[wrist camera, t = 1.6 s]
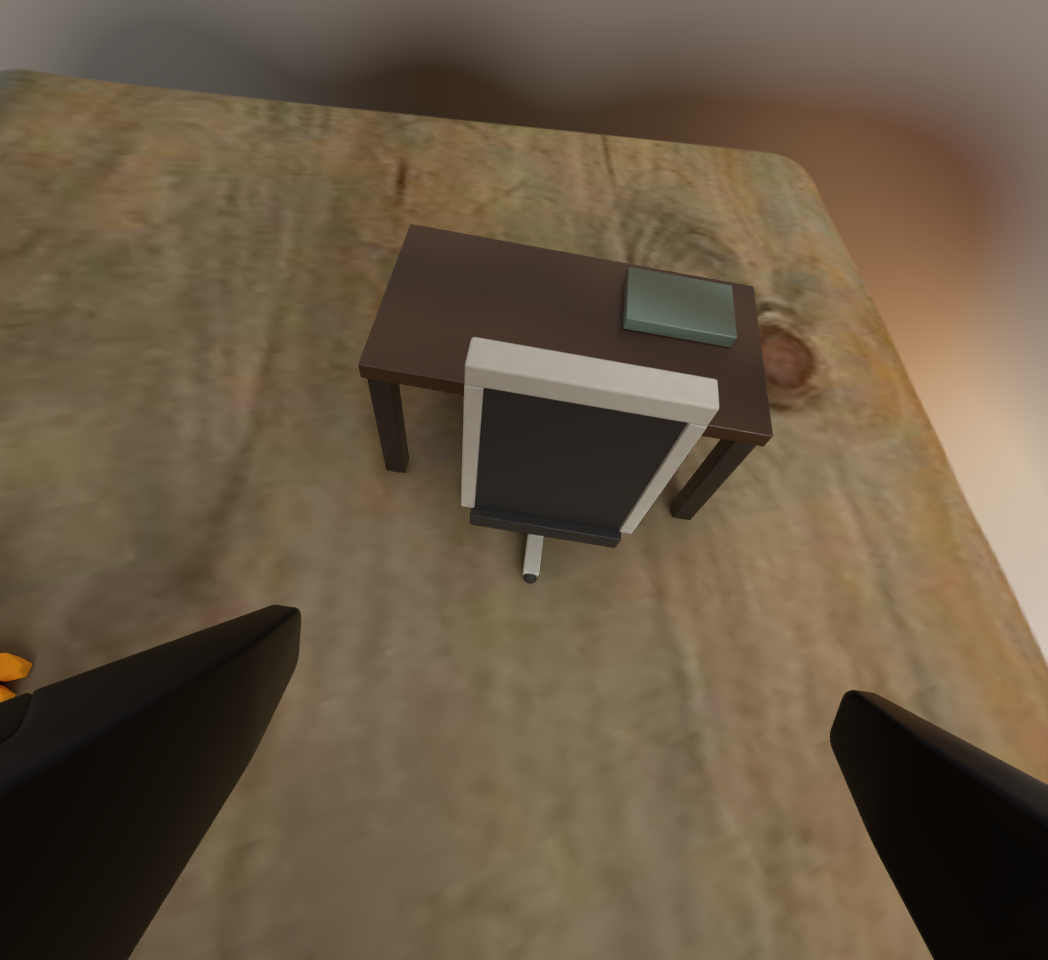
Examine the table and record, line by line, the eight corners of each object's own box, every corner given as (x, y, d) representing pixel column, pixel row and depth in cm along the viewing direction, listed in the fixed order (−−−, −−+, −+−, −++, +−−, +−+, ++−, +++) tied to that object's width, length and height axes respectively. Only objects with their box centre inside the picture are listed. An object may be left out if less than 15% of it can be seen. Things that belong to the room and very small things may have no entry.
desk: (693, 524, 26) (782, 426, 19) (382, 472, 25) (355, 352, 18) (688, 394, 30) (760, 274, 23) (419, 347, 29) (409, 210, 22)
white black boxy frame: (609, 598, 24) (739, 441, 13) (446, 571, 23) (440, 390, 13) (616, 459, 27) (721, 248, 17) (474, 436, 27) (488, 204, 16)
